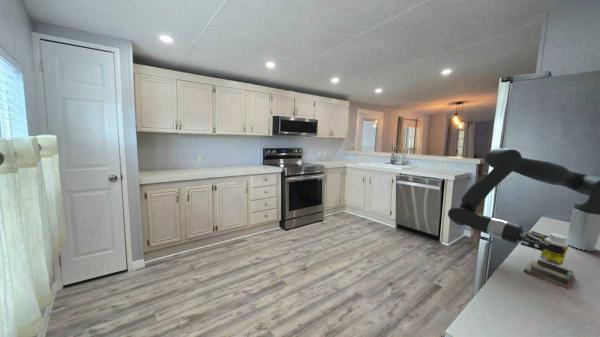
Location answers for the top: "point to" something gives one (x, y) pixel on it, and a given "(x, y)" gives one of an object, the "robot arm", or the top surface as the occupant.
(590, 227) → the robot arm
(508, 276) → the top surface
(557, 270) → the notched cradle board
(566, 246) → the supplement bottle
